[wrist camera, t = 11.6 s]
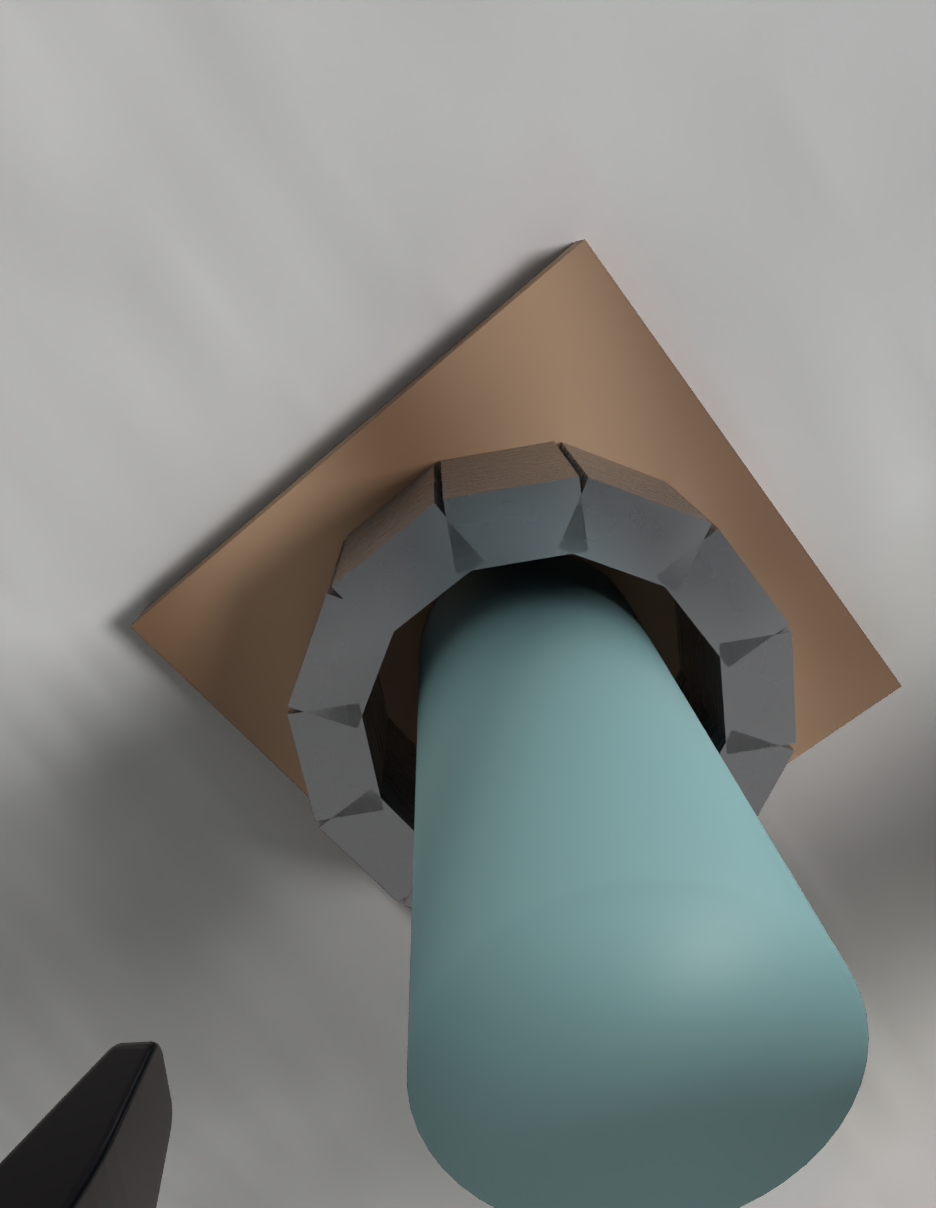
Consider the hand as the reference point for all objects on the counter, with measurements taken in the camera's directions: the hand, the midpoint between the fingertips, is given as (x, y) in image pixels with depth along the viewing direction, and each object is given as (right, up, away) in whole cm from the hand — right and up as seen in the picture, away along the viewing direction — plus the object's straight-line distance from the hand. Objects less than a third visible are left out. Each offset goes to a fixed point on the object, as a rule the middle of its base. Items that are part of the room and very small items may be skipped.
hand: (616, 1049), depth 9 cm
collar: (0, +4, +10) cm, 11 cm away
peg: (0, +3, +9) cm, 10 cm away
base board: (0, +4, +10) cm, 11 cm away
